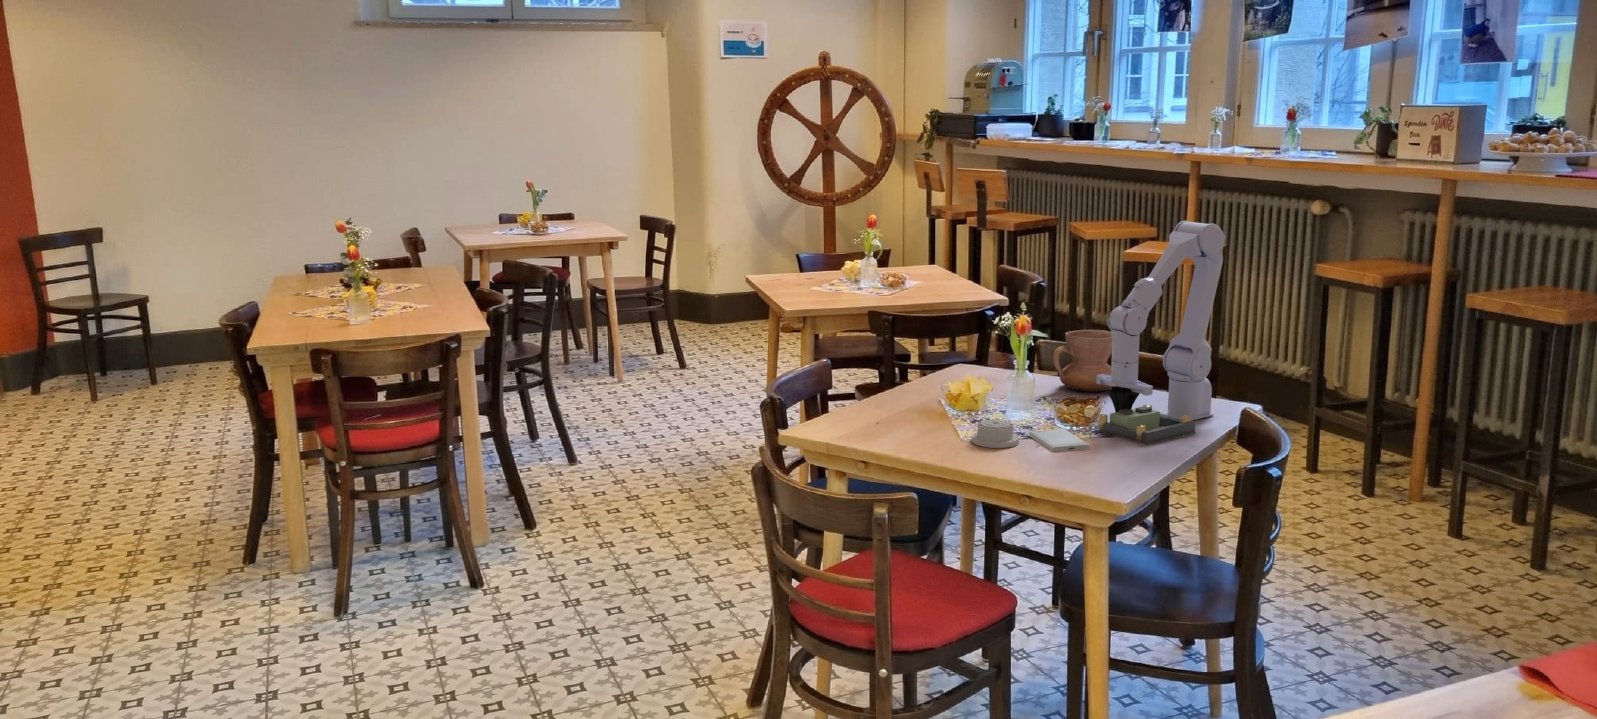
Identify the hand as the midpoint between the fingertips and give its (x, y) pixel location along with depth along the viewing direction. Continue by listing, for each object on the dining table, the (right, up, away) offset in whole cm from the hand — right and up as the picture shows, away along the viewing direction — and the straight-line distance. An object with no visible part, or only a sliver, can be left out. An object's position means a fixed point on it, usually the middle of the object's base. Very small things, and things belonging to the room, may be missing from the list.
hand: (1122, 420), depth 258 cm
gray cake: (-30, -4, -11) cm, 32 cm away
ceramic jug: (0, +6, +34) cm, 35 cm away
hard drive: (-17, -5, -12) cm, 21 cm away
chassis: (+3, -2, -5) cm, 6 cm away
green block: (+2, -2, -3) cm, 4 cm away
